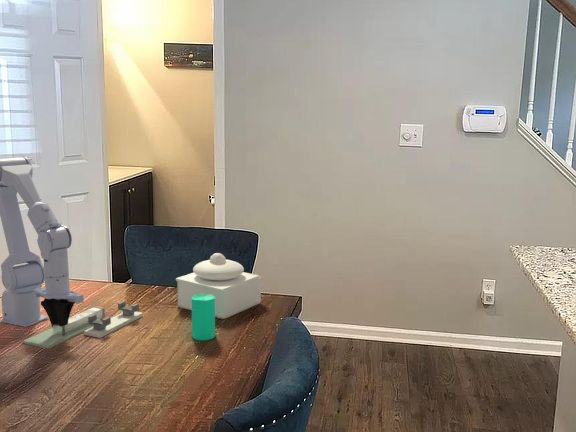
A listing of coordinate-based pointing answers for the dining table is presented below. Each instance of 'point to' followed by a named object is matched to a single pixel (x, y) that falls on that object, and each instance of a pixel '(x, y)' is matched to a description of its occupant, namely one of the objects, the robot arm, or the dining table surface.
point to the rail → (78, 321)
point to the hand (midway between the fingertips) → (60, 326)
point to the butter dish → (220, 286)
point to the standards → (113, 320)
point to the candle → (203, 316)
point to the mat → (52, 337)
